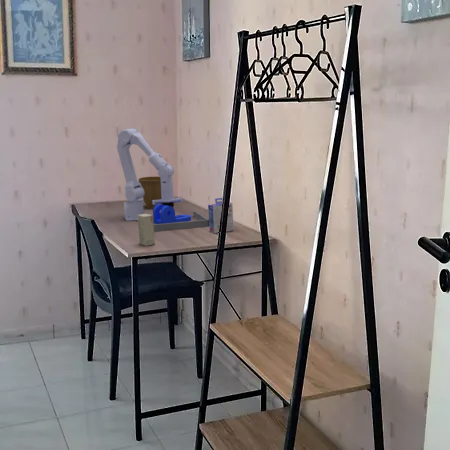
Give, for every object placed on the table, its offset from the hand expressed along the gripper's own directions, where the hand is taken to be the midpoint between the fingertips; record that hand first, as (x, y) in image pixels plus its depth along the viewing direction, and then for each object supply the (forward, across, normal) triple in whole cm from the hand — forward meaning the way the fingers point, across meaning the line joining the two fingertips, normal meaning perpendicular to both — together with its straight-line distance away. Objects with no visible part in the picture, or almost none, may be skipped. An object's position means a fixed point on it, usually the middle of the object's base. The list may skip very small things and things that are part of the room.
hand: (168, 217), depth 305 cm
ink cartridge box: (+1, +16, -35) cm, 39 cm away
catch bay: (+1, 0, -10) cm, 10 cm away
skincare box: (+1, -19, -45) cm, 49 cm away
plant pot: (+1, 0, +36) cm, 36 cm away
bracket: (+1, +2, -6) cm, 6 cm away
